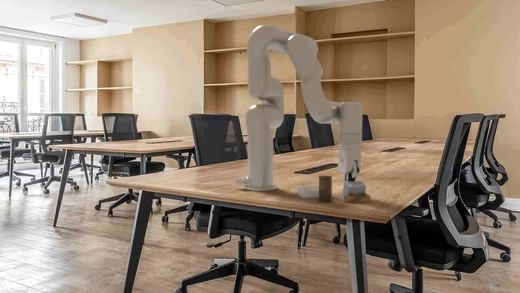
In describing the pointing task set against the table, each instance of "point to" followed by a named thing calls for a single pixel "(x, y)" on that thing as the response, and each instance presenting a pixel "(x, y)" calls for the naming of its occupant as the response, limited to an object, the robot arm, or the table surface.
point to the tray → (308, 191)
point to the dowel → (325, 188)
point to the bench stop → (357, 198)
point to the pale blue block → (354, 187)
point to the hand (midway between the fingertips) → (349, 193)
